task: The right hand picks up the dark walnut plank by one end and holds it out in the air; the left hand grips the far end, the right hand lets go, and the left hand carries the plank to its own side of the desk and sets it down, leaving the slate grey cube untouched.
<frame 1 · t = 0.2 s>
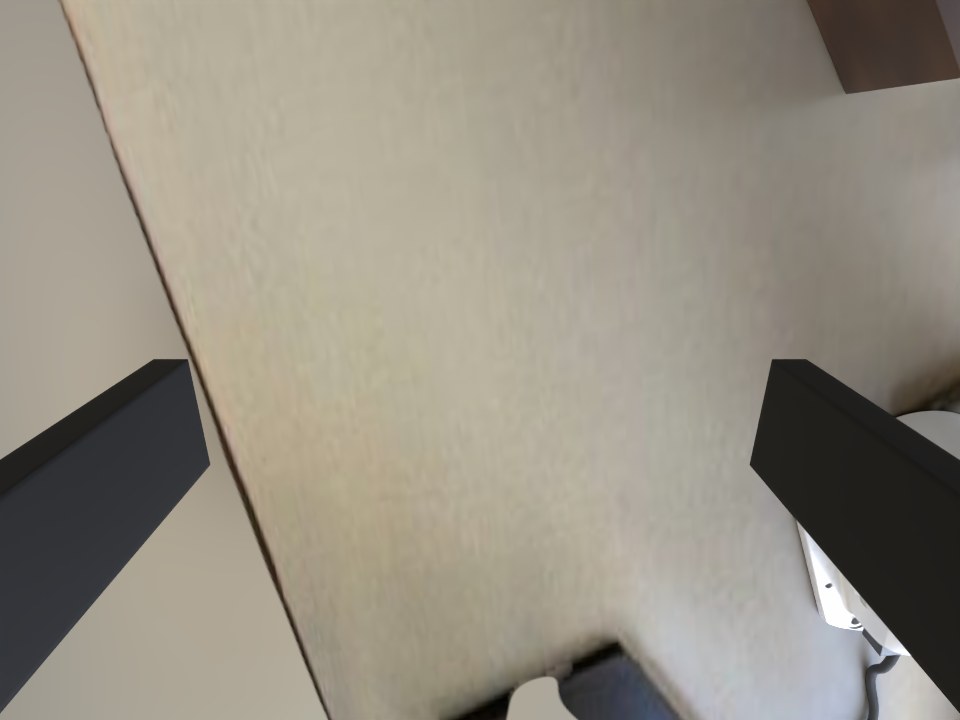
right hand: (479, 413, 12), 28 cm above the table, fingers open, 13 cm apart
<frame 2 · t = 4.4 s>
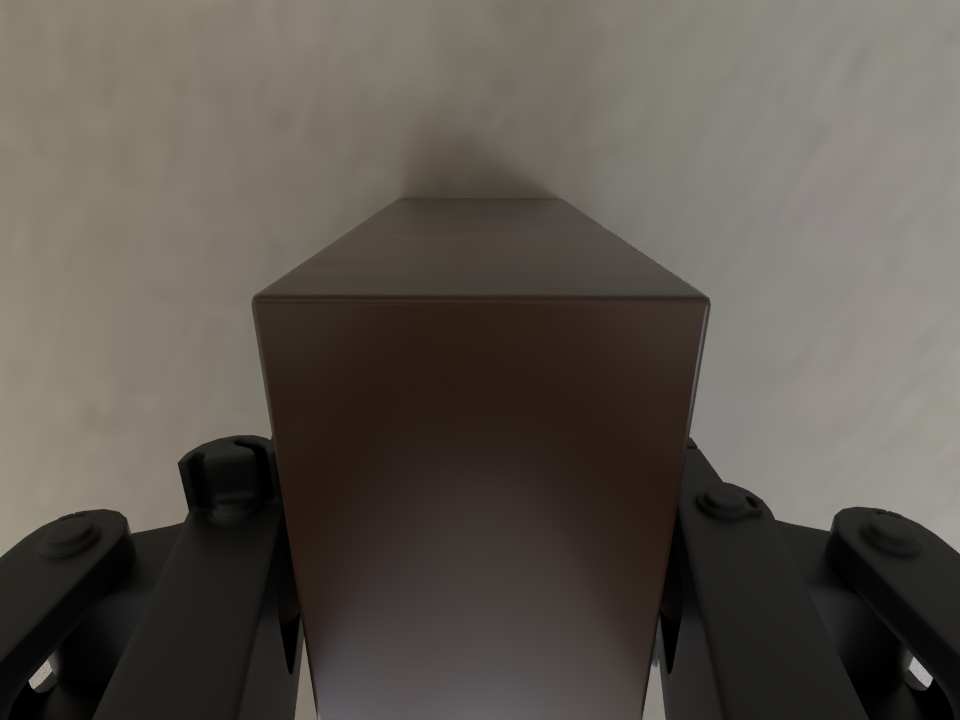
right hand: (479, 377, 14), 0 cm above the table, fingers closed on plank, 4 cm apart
plank: (479, 610, 18), on the table, touching right hand
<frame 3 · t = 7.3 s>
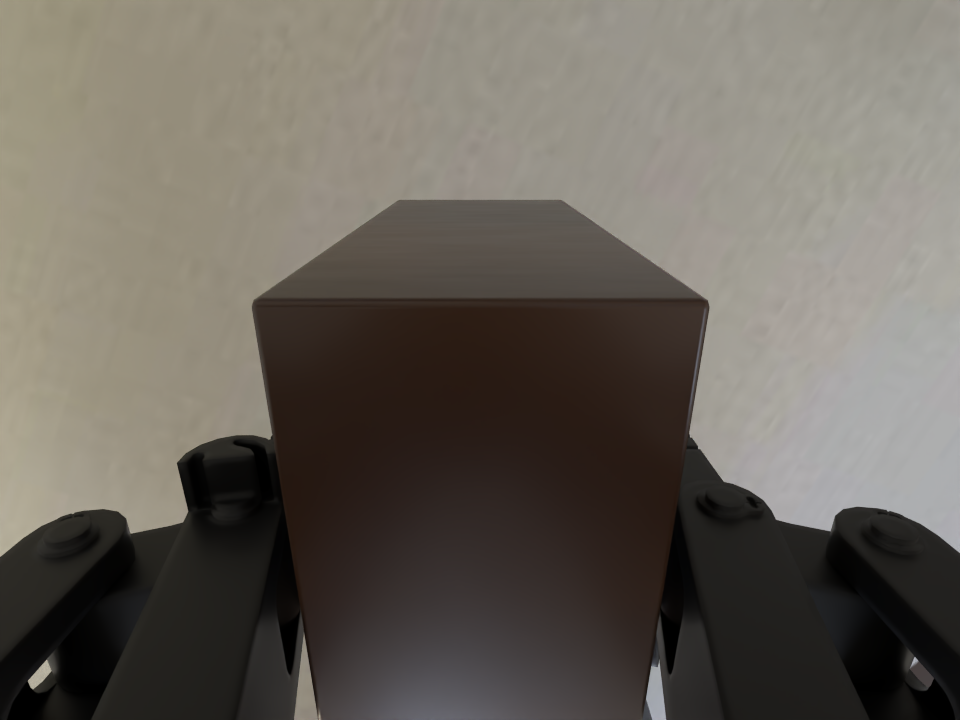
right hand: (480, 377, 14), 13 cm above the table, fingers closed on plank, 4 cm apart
plank: (480, 610, 18), point 12 cm above the table, touching right hand
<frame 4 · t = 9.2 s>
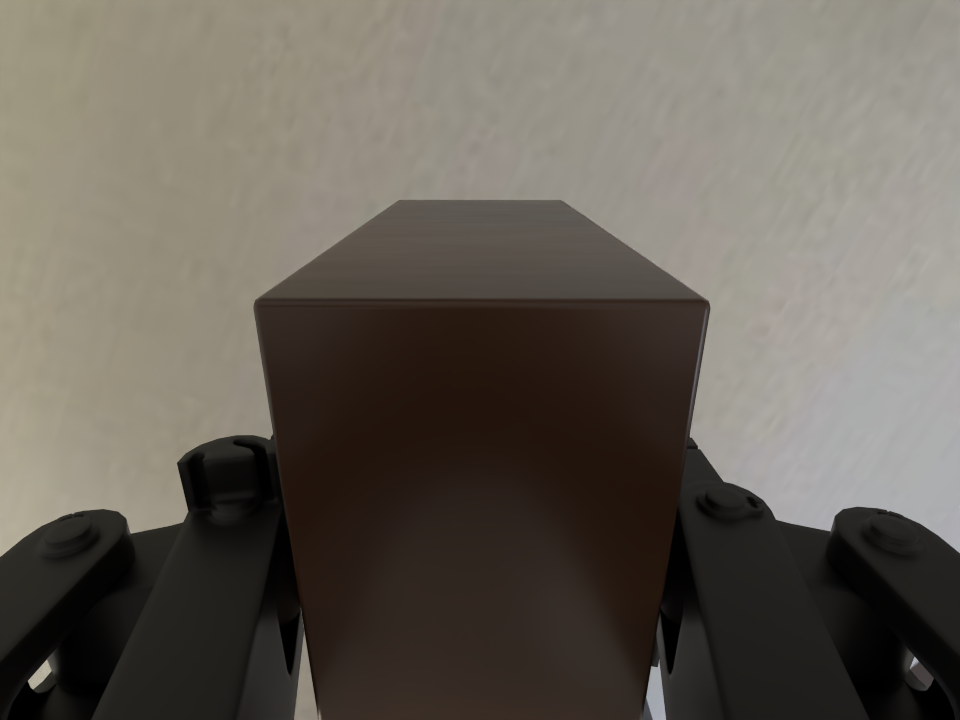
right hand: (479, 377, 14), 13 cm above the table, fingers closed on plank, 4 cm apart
plank: (479, 610, 18), point 12 cm above the table, touching right hand, left hand
when the right hand's fingers open (13 cm above the table, at t = 10.1 s): plank stays where it is, held by the left hand.
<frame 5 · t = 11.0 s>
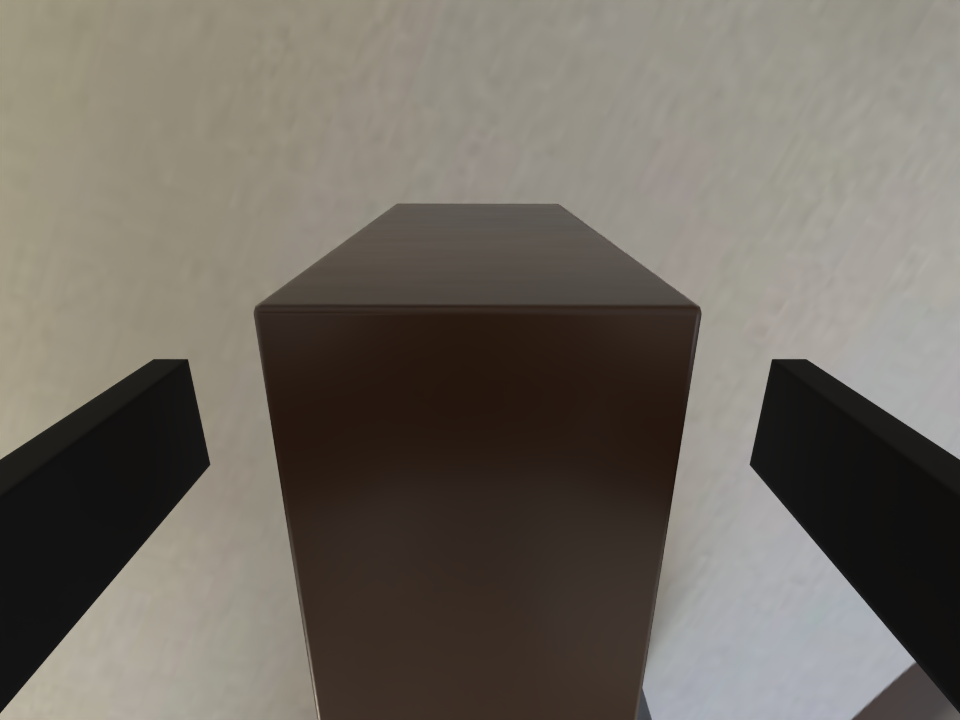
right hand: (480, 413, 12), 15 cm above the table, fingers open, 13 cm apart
plank: (477, 611, 18), point 12 cm above the table, touching left hand
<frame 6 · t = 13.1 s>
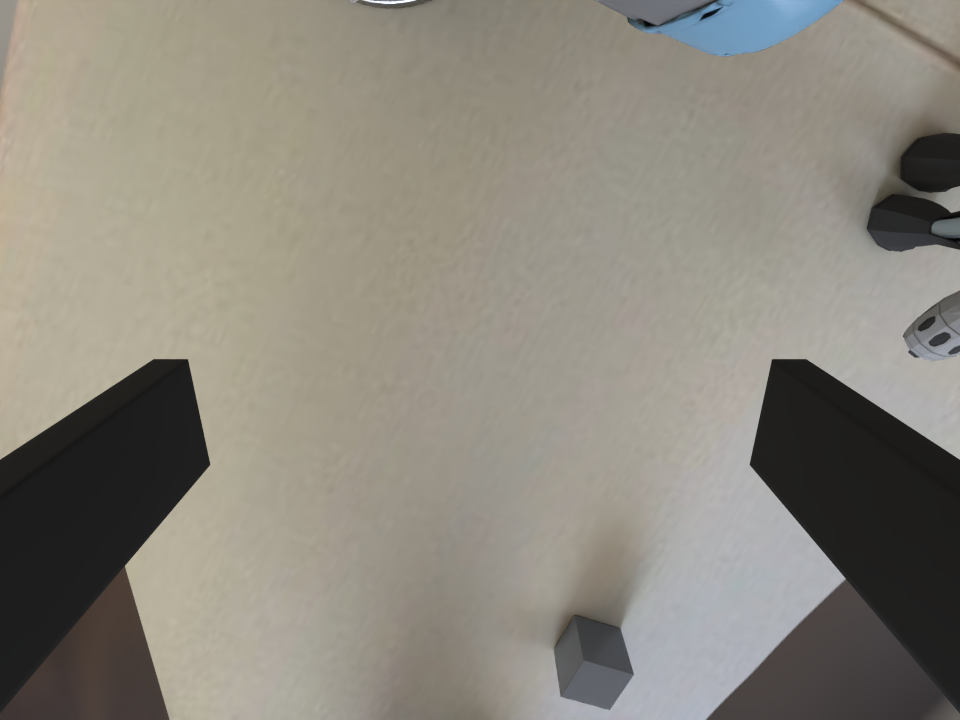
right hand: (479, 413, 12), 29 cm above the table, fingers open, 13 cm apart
robot: (911, 192, 38), on the table
plank: (134, 716, 31), point 19 cm above the table, touching left hand
grey cube: (586, 639, 54), on the table
when the left hand's fingers open (5 cm above the table, at t = 17.0 s): plank stays where it is, on the table.
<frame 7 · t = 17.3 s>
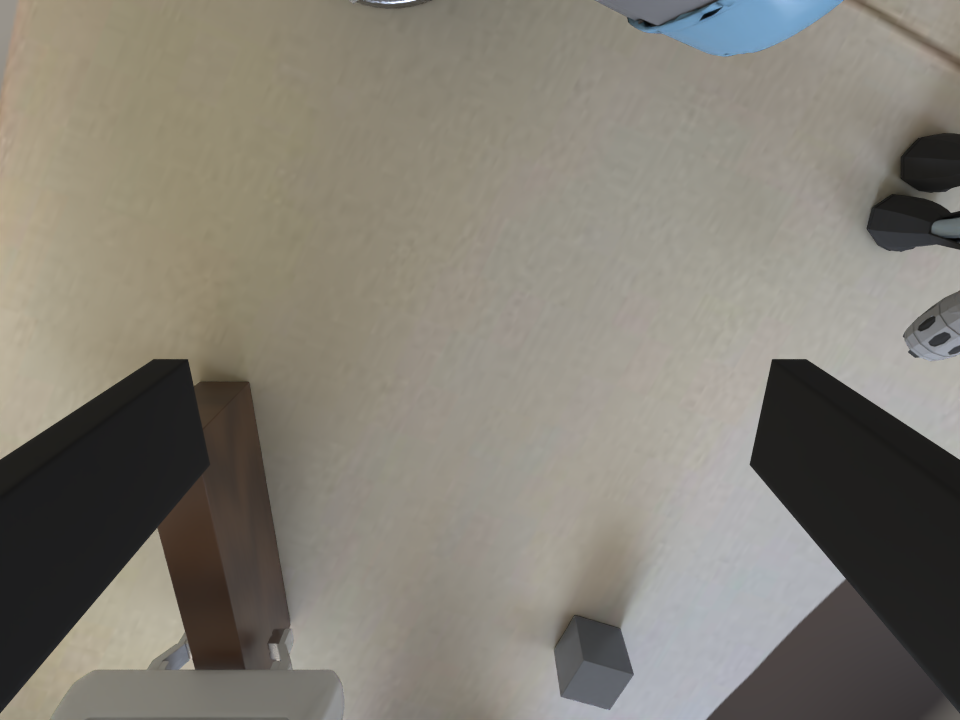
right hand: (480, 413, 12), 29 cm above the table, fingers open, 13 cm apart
robot: (911, 192, 38), on the table
plank: (249, 515, 48), on the table
grey cube: (586, 639, 54), on the table
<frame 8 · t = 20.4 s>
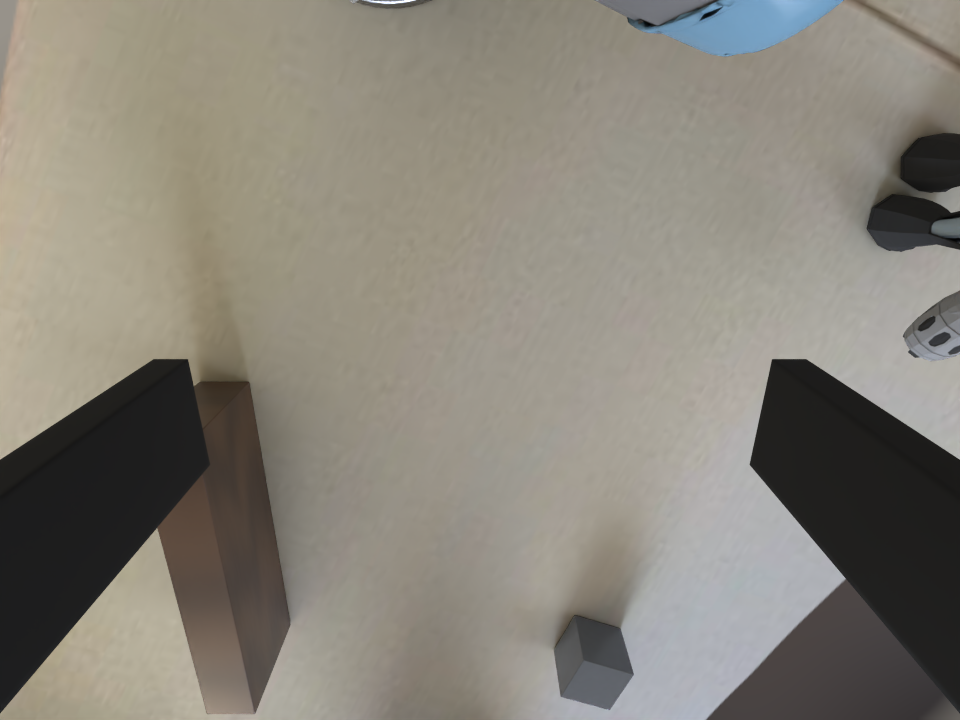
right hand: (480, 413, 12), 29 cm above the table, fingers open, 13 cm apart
robot: (911, 192, 38), on the table
plank: (249, 515, 48), on the table
grey cube: (586, 639, 54), on the table
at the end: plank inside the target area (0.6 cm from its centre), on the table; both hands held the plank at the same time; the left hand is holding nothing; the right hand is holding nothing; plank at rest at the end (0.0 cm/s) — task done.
